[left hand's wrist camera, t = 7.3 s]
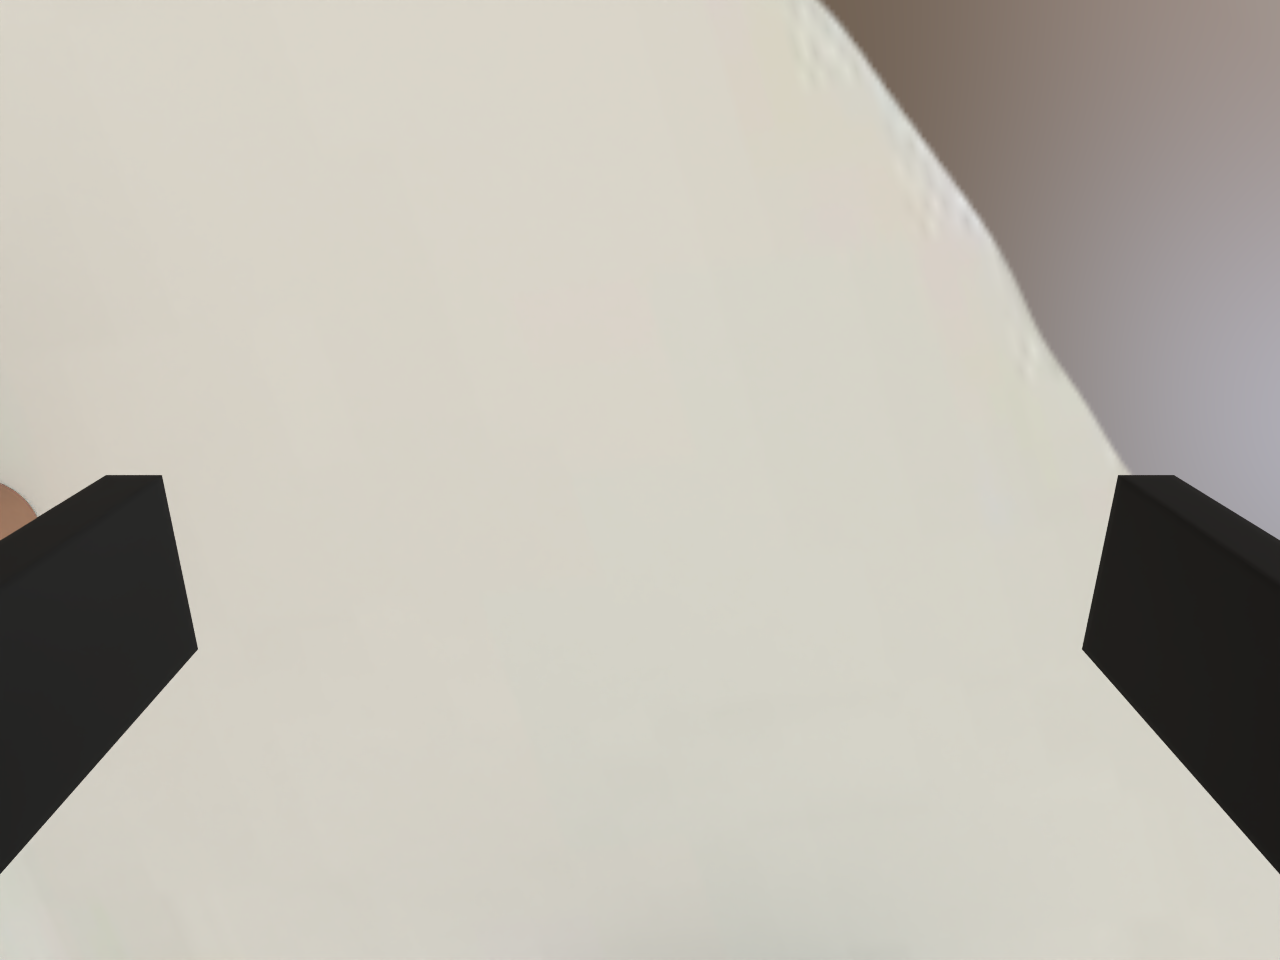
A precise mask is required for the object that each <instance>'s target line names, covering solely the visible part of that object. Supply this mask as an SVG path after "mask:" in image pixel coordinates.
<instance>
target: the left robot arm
mask: <svg viewBox="0 0 1280 960" xmlns="http://www.w3.org/2000/svg"><path fill="white" fill-rule="evenodd" d="M197 650H198V647H197V642H196V638H195V633H194V628H193V623H192V618H191V613H190V609H189V604H188V599H187V594H186V589H185V585H184V580H183V575H182V570H181V565H180V560H179V556H178V551H177V546H176V541H175V536H174V532H173V527H172V522H171V517H170V512H169V508H168V503H167V498H166V493H165V488H164V483H163V479H162V475H106V476H104V477H102V478H101V479H99V480H97V481H96V482H94V483H93V484H91V485H89V486H88V487H86V488H84V489H83V490H81V491H80V492H78V493H76V494H75V495H73V496H72V497H70V498H68V499H67V500H65V501H63V502H62V503H60V504H59V505H57V506H55V507H54V508H52V509H50V510H49V511H47V512H46V513H44V514H42V515H41V516H39V517H37V518H36V519H34V520H33V521H31V522H29V523H28V524H26V525H24V526H23V527H21V528H20V529H18V530H16V531H15V532H13V533H11V534H10V535H8V536H7V537H5V538H3V539H2V540H0V874H1V873H2V871H3V870H4V869H5V868H6V867H7V866H8V865H9V863H10V862H11V861H12V860H13V859H14V858H15V857H16V856H17V854H18V853H19V852H20V851H21V850H22V849H23V848H24V846H25V845H26V844H27V843H28V842H29V841H30V840H31V838H32V837H33V836H34V835H35V834H36V833H37V832H38V830H39V829H40V828H41V827H42V826H43V825H44V824H45V823H46V821H47V820H48V819H49V818H50V817H51V816H52V815H53V813H54V812H55V811H56V810H57V809H58V808H59V807H60V805H61V804H62V803H63V802H64V801H65V800H66V799H67V798H68V796H69V795H70V794H71V793H72V792H73V791H74V790H75V788H76V787H77V786H78V785H79V784H80V783H81V782H82V780H83V779H84V778H85V777H86V776H87V775H88V774H89V772H90V771H91V770H92V769H93V768H94V767H95V766H96V765H97V763H98V762H99V761H100V760H101V759H102V758H103V757H104V755H105V754H106V753H107V752H108V751H109V750H110V749H111V747H112V746H113V745H114V744H115V743H116V742H117V741H118V739H119V738H120V737H121V736H122V735H123V734H124V733H125V732H126V730H127V729H128V728H129V727H130V726H131V725H132V724H133V722H134V721H135V720H136V719H137V718H138V717H139V716H140V714H141V713H142V712H143V711H144V710H145V709H146V708H147V707H148V705H149V704H150V703H151V702H152V701H153V700H154V699H155V697H156V696H157V695H158V694H159V693H160V692H161V691H162V689H163V688H164V687H165V686H166V685H167V684H168V683H169V681H170V680H171V679H172V678H173V677H174V676H175V675H176V674H177V672H178V671H179V670H180V669H181V668H182V667H183V666H184V664H185V663H186V662H187V661H188V660H189V659H190V658H191V656H192V655H193V654H194V653H195V652H196V651H197ZM1082 650H1083V651H1084V652H1085V653H1086V654H1087V655H1088V656H1089V658H1090V659H1091V660H1092V661H1093V662H1094V663H1095V664H1096V666H1097V667H1098V668H1099V669H1100V670H1101V671H1102V672H1103V674H1104V675H1105V676H1106V677H1107V678H1108V679H1109V680H1110V681H1111V683H1112V684H1113V685H1114V686H1115V687H1116V688H1117V689H1118V691H1119V692H1120V693H1121V694H1122V695H1123V696H1124V697H1125V699H1126V700H1127V701H1128V702H1129V703H1130V704H1131V705H1132V707H1133V708H1134V709H1135V710H1136V711H1137V712H1138V713H1139V714H1140V716H1141V717H1142V718H1143V719H1144V720H1145V721H1146V722H1147V724H1148V725H1149V726H1150V727H1151V728H1152V729H1153V730H1154V732H1155V733H1156V734H1157V735H1158V736H1159V737H1160V738H1161V739H1162V741H1163V742H1164V743H1165V744H1166V745H1167V746H1168V747H1169V749H1170V750H1171V751H1172V752H1173V753H1174V754H1175V755H1176V757H1177V758H1178V759H1179V760H1180V761H1181V762H1182V763H1183V765H1184V766H1185V767H1186V768H1187V769H1188V770H1189V771H1190V772H1191V774H1192V775H1193V776H1194V777H1195V778H1196V779H1197V780H1198V782H1199V783H1200V784H1201V785H1202V786H1203V787H1204V788H1205V790H1206V791H1207V792H1208V793H1209V794H1210V795H1211V796H1212V798H1213V799H1214V800H1215V801H1216V802H1217V803H1218V804H1219V805H1220V807H1221V808H1222V809H1223V810H1224V811H1225V812H1226V813H1227V815H1228V816H1229V817H1230V818H1231V819H1232V820H1233V821H1234V823H1235V824H1236V825H1237V826H1238V827H1239V828H1240V829H1241V830H1242V832H1243V833H1244V834H1245V835H1246V836H1247V837H1248V838H1249V840H1250V841H1251V842H1252V843H1253V844H1254V845H1255V846H1256V848H1257V849H1258V850H1259V851H1260V852H1261V853H1262V854H1263V856H1264V857H1265V858H1266V859H1267V860H1268V861H1269V862H1270V863H1271V865H1272V866H1273V867H1274V868H1275V869H1276V870H1277V871H1278V873H1279V874H1280V540H1278V539H1277V538H1275V537H1273V536H1272V535H1270V534H1269V533H1267V532H1265V531H1264V530H1262V529H1260V528H1259V527H1257V526H1256V525H1254V524H1252V523H1251V522H1249V521H1247V520H1246V519H1244V518H1243V517H1241V516H1239V515H1238V514H1236V513H1234V512H1233V511H1231V510H1230V509H1228V508H1226V507H1225V506H1223V505H1221V504H1220V503H1218V502H1217V501H1215V500H1213V499H1212V498H1210V497H1208V496H1207V495H1205V494H1204V493H1202V492H1200V491H1199V490H1197V489H1195V488H1194V487H1192V486H1191V485H1189V484H1187V483H1186V482H1184V481H1182V480H1181V479H1179V478H1178V477H1176V476H1174V475H1118V479H1117V483H1116V488H1115V493H1114V498H1113V503H1112V508H1111V512H1110V517H1109V522H1108V527H1107V532H1106V536H1105V541H1104V546H1103V551H1102V556H1101V560H1100V565H1099V570H1098V575H1097V580H1096V585H1095V589H1094V594H1093V599H1092V604H1091V609H1090V613H1089V618H1088V623H1087V628H1086V633H1085V638H1084V642H1083V647H1082Z"/></svg>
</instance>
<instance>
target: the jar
mask: <svg viewBox="0 0 1280 960" xmlns="http://www.w3.org/2000/svg"><path fill="white" fill-rule="evenodd" d="M36 518H37V516H36V514H35V512H34V511H33V509H32V508H31V506H30V505H29V504H28V503H27V501H26V500H25V499H24V498H23V497H22V496H20V495H19V494H18V493H17V492H15V491H14V490H12V489H11V488H9V487H7V486H5V485H3V484H0V540H2V539H3V538H5V537H7V536H8V535H10V534H11V533H13V532H15V531H16V530H18V529H20V528H21V527H23V526H24V525H26V524H28V523H29V522H31V521H33V520H34V519H36Z"/></svg>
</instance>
